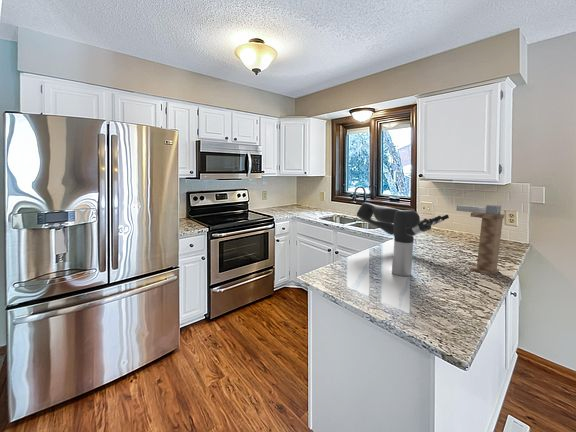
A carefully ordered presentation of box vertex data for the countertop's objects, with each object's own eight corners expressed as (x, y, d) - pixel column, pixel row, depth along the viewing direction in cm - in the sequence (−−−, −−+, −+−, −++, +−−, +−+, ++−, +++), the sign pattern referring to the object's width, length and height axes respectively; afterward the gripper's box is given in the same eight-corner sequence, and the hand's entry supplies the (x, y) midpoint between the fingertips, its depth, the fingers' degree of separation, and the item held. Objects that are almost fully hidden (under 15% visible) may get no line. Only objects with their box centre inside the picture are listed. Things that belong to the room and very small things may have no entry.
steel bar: (455, 210, 166) (456, 202, 166) (459, 210, 169) (460, 202, 168) (496, 215, 150) (497, 206, 149) (500, 214, 153) (501, 205, 152)
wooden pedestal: (465, 268, 162) (470, 212, 157) (473, 265, 168) (479, 211, 163) (490, 275, 152) (497, 215, 147) (498, 271, 158) (505, 214, 153)
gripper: (429, 230, 190) (453, 221, 177) (417, 233, 181) (441, 223, 169) (424, 220, 192) (448, 210, 179) (412, 221, 183) (435, 211, 171)
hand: (444, 216), depth 174 cm, fingers open, 8 cm apart
